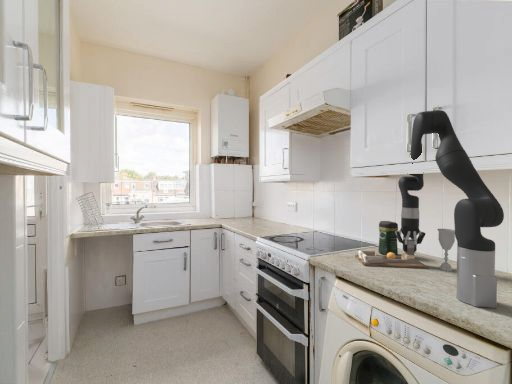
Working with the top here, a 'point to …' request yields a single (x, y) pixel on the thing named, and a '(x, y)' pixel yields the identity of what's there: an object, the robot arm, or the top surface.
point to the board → (387, 261)
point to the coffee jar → (388, 237)
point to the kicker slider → (409, 251)
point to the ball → (391, 255)
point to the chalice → (446, 245)
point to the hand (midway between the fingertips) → (409, 251)
